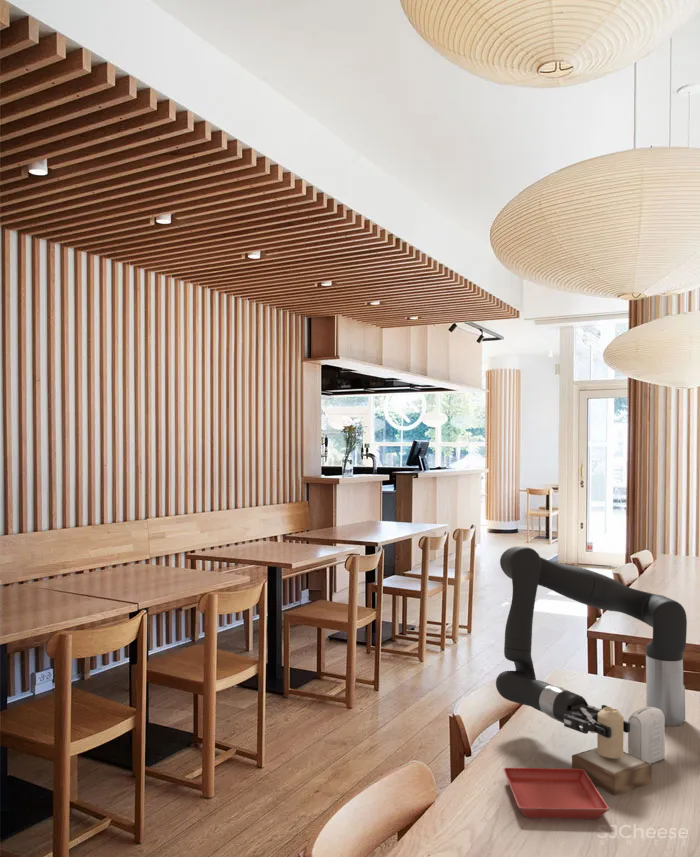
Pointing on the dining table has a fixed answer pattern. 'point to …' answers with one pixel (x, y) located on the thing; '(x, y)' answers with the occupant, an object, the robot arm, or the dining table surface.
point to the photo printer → (647, 734)
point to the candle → (615, 743)
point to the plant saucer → (555, 793)
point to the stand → (613, 771)
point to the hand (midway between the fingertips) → (619, 730)
